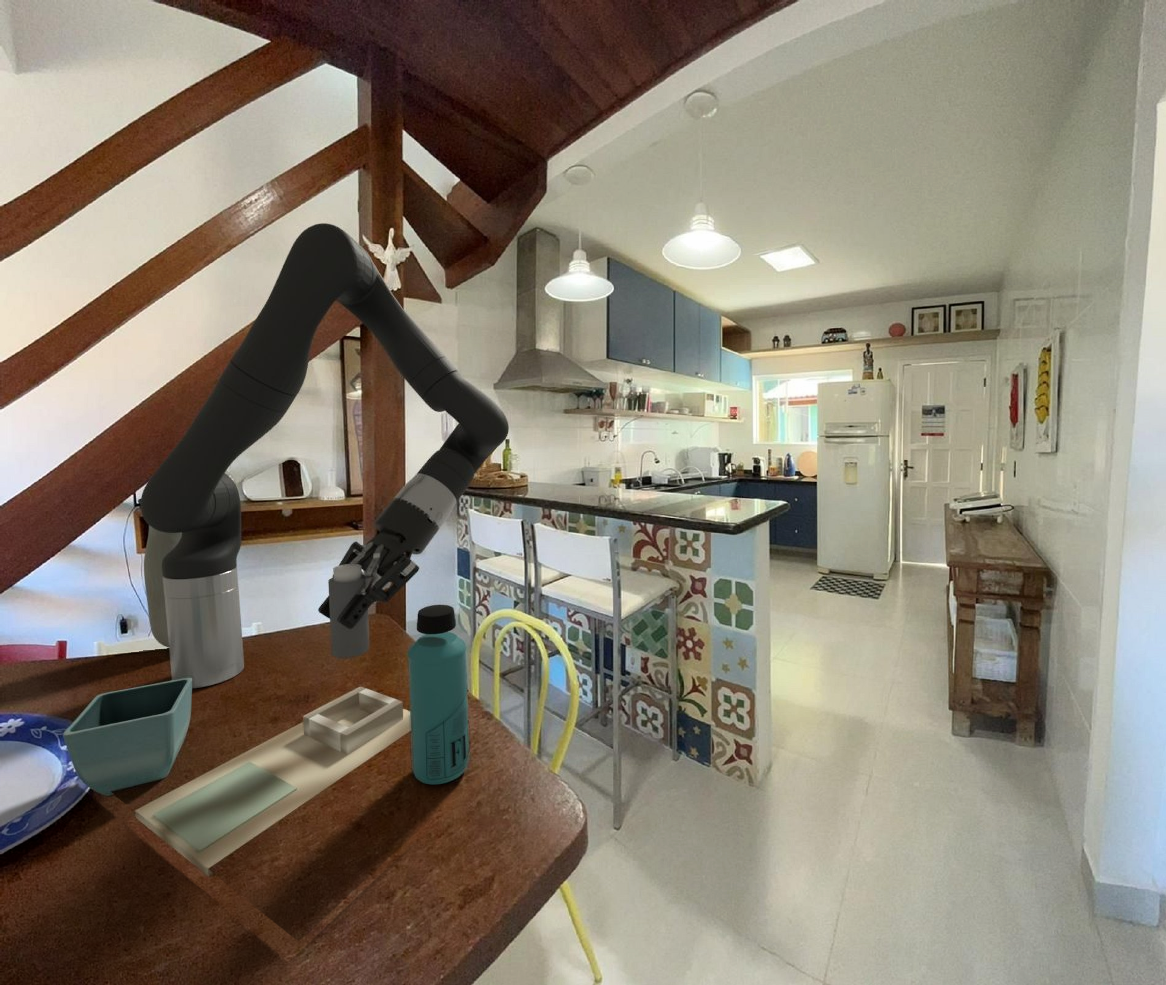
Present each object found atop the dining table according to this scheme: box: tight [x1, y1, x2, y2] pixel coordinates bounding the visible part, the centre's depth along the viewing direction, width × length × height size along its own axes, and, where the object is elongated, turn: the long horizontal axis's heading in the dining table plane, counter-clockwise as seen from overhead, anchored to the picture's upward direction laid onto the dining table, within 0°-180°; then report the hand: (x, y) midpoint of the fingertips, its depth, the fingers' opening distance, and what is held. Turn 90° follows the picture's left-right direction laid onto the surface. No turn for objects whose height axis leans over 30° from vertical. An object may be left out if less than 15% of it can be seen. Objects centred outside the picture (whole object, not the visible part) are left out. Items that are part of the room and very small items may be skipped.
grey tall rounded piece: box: [143, 525, 182, 648], centre depth 87 cm, size 10×10×28 cm
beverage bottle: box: [407, 604, 471, 785], centre depth 54 cm, size 6×7×20 cm
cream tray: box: [134, 686, 411, 877], centre depth 57 cm, size 14×26×3 cm, turn 152°
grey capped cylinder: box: [327, 564, 370, 659], centre depth 61 cm, size 4×4×11 cm
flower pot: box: [62, 678, 193, 797], centre depth 54 cm, size 9×9×9 cm
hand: (334, 619), depth 60 cm, fingers closed on grey capped cylinder, 4 cm apart
